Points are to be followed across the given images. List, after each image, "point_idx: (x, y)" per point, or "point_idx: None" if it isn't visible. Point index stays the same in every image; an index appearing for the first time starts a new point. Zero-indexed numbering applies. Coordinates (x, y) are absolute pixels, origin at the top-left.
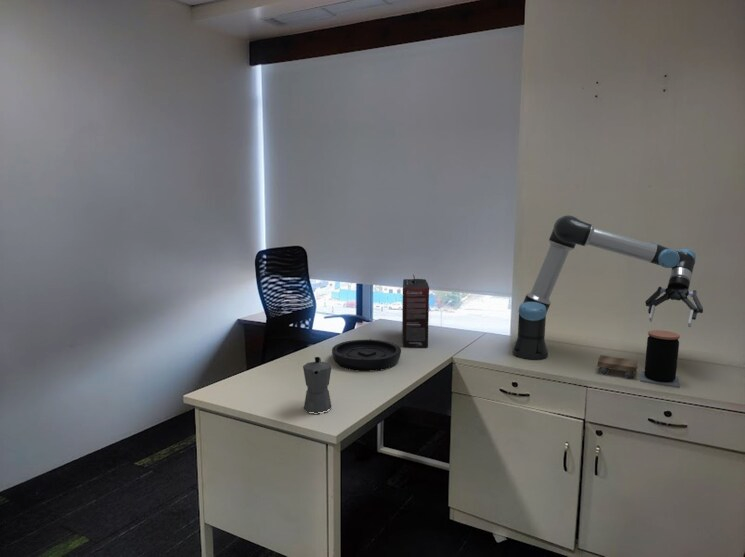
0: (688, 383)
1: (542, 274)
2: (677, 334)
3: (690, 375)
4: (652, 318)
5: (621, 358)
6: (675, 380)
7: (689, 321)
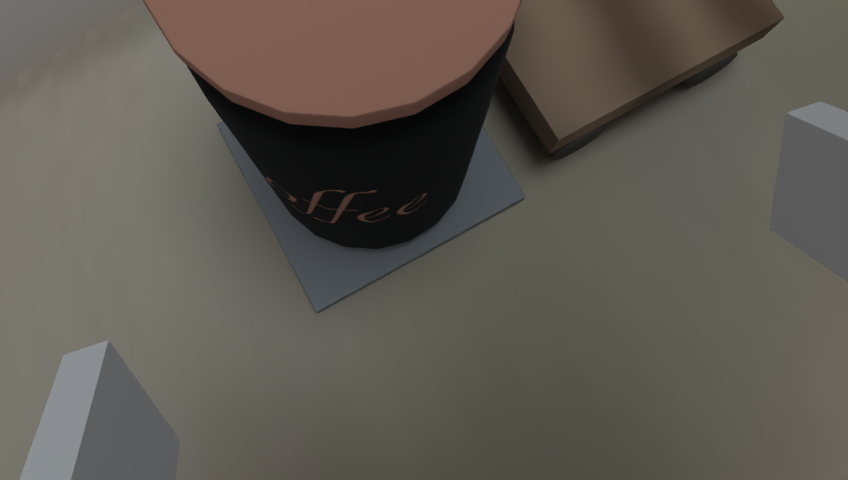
0: (223, 263)
1: None
2: (197, 43)
3: (295, 459)
4: (829, 260)
5: (654, 81)
6: (285, 209)
7: (78, 379)
